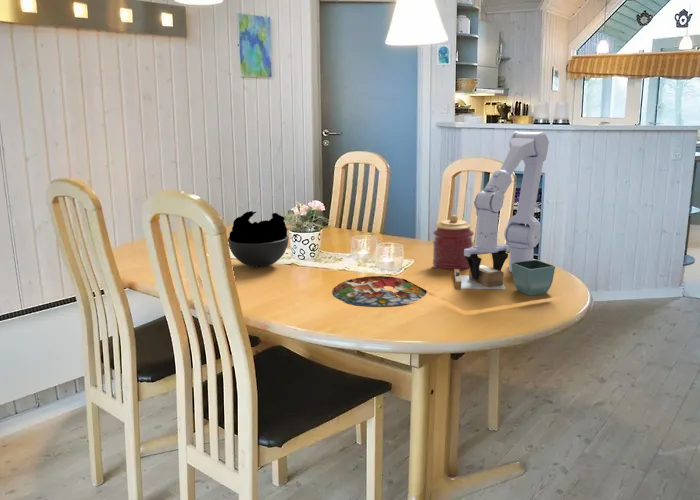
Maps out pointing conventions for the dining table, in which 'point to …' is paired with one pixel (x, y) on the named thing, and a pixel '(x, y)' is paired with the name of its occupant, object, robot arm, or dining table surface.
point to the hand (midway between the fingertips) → (485, 277)
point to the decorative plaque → (378, 291)
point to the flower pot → (532, 276)
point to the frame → (488, 276)
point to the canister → (451, 244)
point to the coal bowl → (258, 240)
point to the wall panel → (470, 282)
